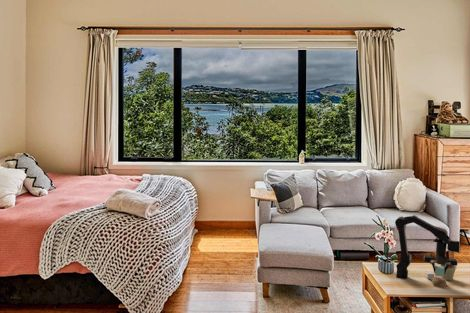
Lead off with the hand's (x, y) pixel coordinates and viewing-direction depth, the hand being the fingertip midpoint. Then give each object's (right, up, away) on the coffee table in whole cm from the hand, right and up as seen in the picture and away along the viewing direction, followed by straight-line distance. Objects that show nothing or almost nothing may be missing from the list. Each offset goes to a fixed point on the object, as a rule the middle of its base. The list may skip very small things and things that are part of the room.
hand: (439, 273), depth 272 cm
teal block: (0, -1, 0) cm, 1 cm away
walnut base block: (0, -7, +1) cm, 8 cm away
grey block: (-2, -6, +10) cm, 12 cm away
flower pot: (+10, -6, +10) cm, 15 cm away
